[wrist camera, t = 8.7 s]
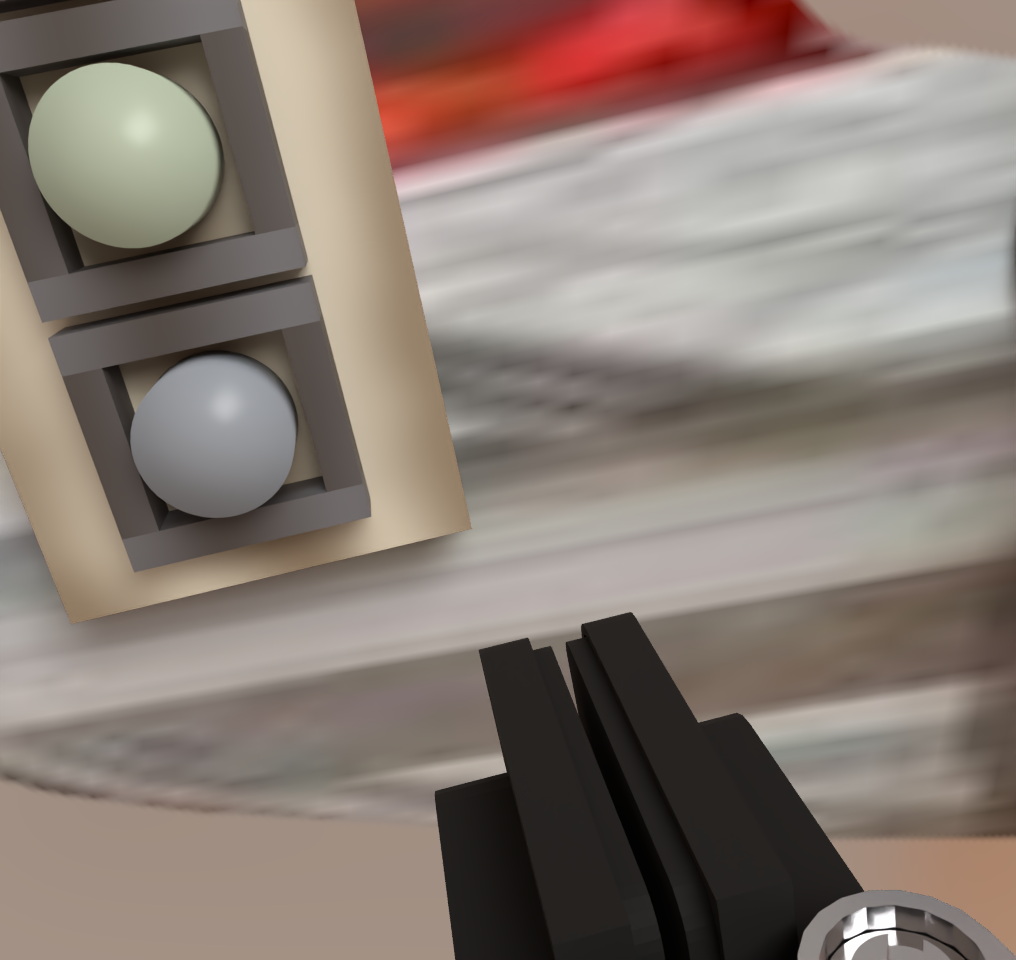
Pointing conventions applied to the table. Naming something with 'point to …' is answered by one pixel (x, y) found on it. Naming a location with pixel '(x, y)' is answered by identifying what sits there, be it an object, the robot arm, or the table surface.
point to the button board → (218, 306)
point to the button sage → (125, 155)
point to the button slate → (215, 434)
